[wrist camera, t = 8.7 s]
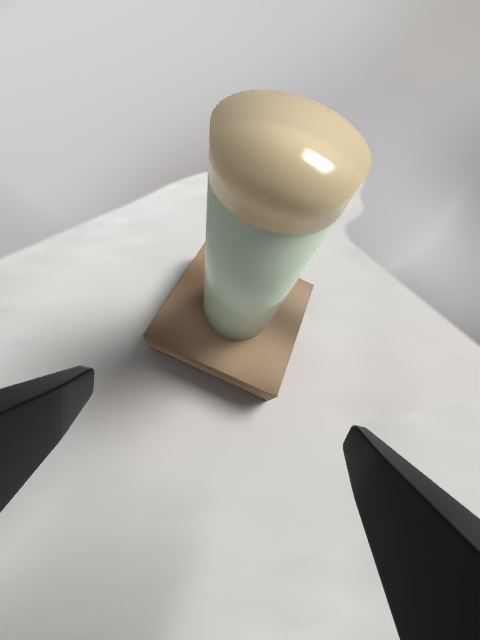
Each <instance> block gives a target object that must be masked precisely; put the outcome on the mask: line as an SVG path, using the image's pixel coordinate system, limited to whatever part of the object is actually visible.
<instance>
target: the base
mask: <svg viewBox="0 0 480 640" xmlns="http://www.w3.org/2000/svg"><path fill="white" fill-rule="evenodd" d="M205 246H206V242H205V243H204V245H203V246H202V248H201V249H200V251H199V252H198V254H197V255H196V257H195V258H194V260H193V261H192V263H191V264H190V266H189V267H188V269H187V270H186V272H185V273H184V275H183V276H182V278H181V279H180V281H179V282H178V284H177V285H176V287H175V288H174V290H173V291H172V293H171V294H170V296H169V297H168V299H167V300H166V302H165V303H164V305H163V306H162V308H161V309H160V311H159V312H158V314H157V315H156V317H155V318H154V320H153V321H152V323H151V324H150V326H149V327H148V329H147V330H146V332H145V333H144V335H143V336H144V338H145V339H146V341H147V343H148V344H149V346H150V347H152V348H154V349H156V350H158V351H160V352H162V353H165V354H167V355H169V356H171V357H173V358H175V359H178V360H180V361H182V362H184V363H186V364H188V365H191V366H193V367H195V368H197V369H199V370H202V371H204V372H206V373H208V374H210V375H212V376H215V377H217V378H219V379H221V380H223V381H225V382H228V383H230V384H232V385H234V386H236V387H238V388H241V389H243V390H245V391H247V392H249V393H252V394H254V395H256V396H258V397H260V398H262V399H265V400H267V401H268V400H271V399H273V398H275V397H277V395H278V392H279V389H280V386H281V383H282V380H283V377H284V374H285V371H286V368H287V365H288V362H289V358H290V355H291V352H292V349H293V346H294V343H295V340H296V337H297V334H298V331H299V328H300V325H301V322H302V319H303V316H304V313H305V310H306V307H307V304H308V301H309V298H310V295H311V292H312V289H313V286H314V285H313V284H310V283H308V282H306V281H304V280H301V279H299V278H298V280H297V281H296V283H295V284H294V286H293V287H292V289H291V290H290V292H289V293H288V295H287V296H286V298H285V299H284V301H283V302H282V304H281V305H280V307H279V308H278V310H277V311H276V313H275V314H274V316H273V317H272V319H271V320H270V322H269V323H268V325H267V326H266V328H265V329H264V330H263V331H262V332H261V333H260V334H258V335H257V336H255V337H253V338H250V339H247V340H232V339H228V338H225V337H223V336H221V335H219V334H218V333H216V332H215V331H214V330H213V329H212V328H211V327H210V326H209V324H208V323H207V321H206V319H205V316H204V311H203V301H204V274H205Z"/></svg>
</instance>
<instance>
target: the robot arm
mask: <svg viewBox="0 0 480 640" xmlns="http://www.w3.org/2000/svg"><path fill="white" fill-rule="evenodd" d="M93 386H94V370H93V369H92V368H90V367H85V366H77V367H73V368H70V369H66V370H63V371H60V372H56V373H53V374H49V375H46V376H43V377H39V378H36V379H32V380H29V381H25V382H22V383H19V384H15V385H12V386H8V387H5V388H1V389H0V512H1V511H2V510H3V509H4V507H5V506H6V505H7V504H8V503H9V501H10V500H11V499H12V498H13V497H14V495H15V494H16V493H17V492H18V491H19V489H20V488H21V487H22V486H23V485H24V483H25V482H26V481H27V480H28V479H29V477H30V476H31V475H32V474H33V473H34V471H35V470H36V469H37V468H38V467H39V465H40V464H41V463H42V462H43V461H44V459H45V458H46V457H47V456H48V455H49V453H50V452H51V451H52V450H53V449H54V447H55V446H56V445H57V444H58V443H59V441H60V440H61V439H62V437H63V436H64V435H65V433H66V432H67V430H68V429H69V427H70V426H71V425H72V423H73V422H74V420H75V419H76V417H77V416H78V414H79V413H80V411H81V410H82V408H83V407H84V405H85V404H86V403H87V401H88V400H89V398H90V397H91V395H92V392H93ZM343 451H344V456H345V460H346V465H347V469H348V473H349V478H350V482H351V486H352V491H353V494H354V498H355V501H356V505H357V508H358V511H359V514H360V517H361V520H362V523H363V527H364V530H365V533H366V536H367V539H368V542H369V545H370V548H371V551H372V554H373V557H374V561H375V564H376V567H377V570H378V573H379V576H380V579H381V582H382V585H383V588H384V591H385V595H386V598H387V601H388V604H389V607H390V610H391V613H392V616H393V619H394V622H395V626H396V629H397V632H398V635H399V638H400V640H480V519H479V518H478V517H477V516H475V515H474V514H473V513H472V512H470V511H469V510H468V509H467V508H465V507H464V506H463V505H462V504H460V503H459V502H458V501H457V500H455V499H454V498H453V497H452V496H450V495H449V494H448V493H447V492H445V491H444V490H443V489H442V488H440V487H439V486H438V485H437V484H435V483H434V482H433V481H432V480H430V479H429V478H428V477H427V476H425V475H424V474H423V473H422V472H420V471H419V470H418V469H417V468H415V467H414V466H413V465H412V464H410V463H409V462H408V461H407V460H406V459H404V458H403V457H402V456H401V455H399V454H398V453H397V452H396V451H394V450H393V449H392V448H391V447H389V446H388V445H387V444H386V443H384V442H383V441H382V440H381V439H379V438H378V437H377V436H376V435H374V434H373V433H372V432H371V431H369V430H368V429H367V428H365V427H361V426H357V425H354V426H352V427H351V428H350V431H349V433H348V435H347V437H346V439H345V441H344V443H343Z"/></svg>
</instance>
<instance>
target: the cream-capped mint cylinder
mask: <svg viewBox="0 0 480 640" xmlns="http://www.w3.org/2000/svg"><path fill="white" fill-rule="evenodd" d="M370 168H371V155H370V151H369V148H368V146H367V144H366V142H365V140H364V139H363V137H362V136H361V135H360V133H359V132H358V131H357V130H356V129H355V128H354V127H353V126H352V125H351V124H350V123H349V122H348V121H346V120H345V119H344V118H343V117H341V116H340V115H339V114H337V113H336V112H334V111H332V110H331V109H329V108H327V107H325V106H323V105H321V104H319V103H317V102H315V101H312V100H310V99H307V98H304V97H301V96H298V95H294V94H290V93H286V92H280V91H272V90H251V91H245V92H240V93H236V94H233V95H231V96H229V97H227V98H225V99H224V100H222V101H221V102H220V103H219V104H218V105H217V106H216V107H215V109H214V110H213V112H212V115H211V119H210V138H209V164H208V191H207V219H206V246H205V274H204V301H203V311H204V316H205V319H206V321H207V323H208V324H209V326H210V327H211V328H212V329H213V330H214V331H215V332H216V333H218V334H219V335H221V336H223V337H225V338H228V339H232V340H247V339H250V338H253V337H255V336H257V335H258V334H260V333H261V332H262V331H263V330H264V329H265V328H266V326H267V325H268V323H269V322H270V320H271V319H272V317H273V316H274V314H275V313H276V311H277V310H278V308H279V307H280V305H281V304H282V302H283V301H284V299H285V298H286V296H287V295H288V293H289V292H290V290H291V289H292V287H293V286H294V284H295V283H296V281H297V280H298V278H299V277H300V275H301V274H302V272H303V271H304V269H305V268H306V266H307V265H308V263H309V262H310V260H311V259H312V257H313V256H314V254H315V253H316V252H317V250H318V249H319V247H320V246H321V244H322V243H323V241H324V240H325V238H326V237H327V235H328V234H329V232H330V231H331V229H332V228H333V226H334V225H335V223H336V222H337V220H338V219H339V217H340V216H341V214H342V213H343V211H344V210H345V208H346V207H347V205H348V204H349V202H350V201H351V199H352V198H353V196H354V195H355V193H356V192H357V190H358V189H359V187H360V186H361V184H362V183H363V181H364V180H365V178H366V177H367V175H368V173H369V171H370Z"/></svg>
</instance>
